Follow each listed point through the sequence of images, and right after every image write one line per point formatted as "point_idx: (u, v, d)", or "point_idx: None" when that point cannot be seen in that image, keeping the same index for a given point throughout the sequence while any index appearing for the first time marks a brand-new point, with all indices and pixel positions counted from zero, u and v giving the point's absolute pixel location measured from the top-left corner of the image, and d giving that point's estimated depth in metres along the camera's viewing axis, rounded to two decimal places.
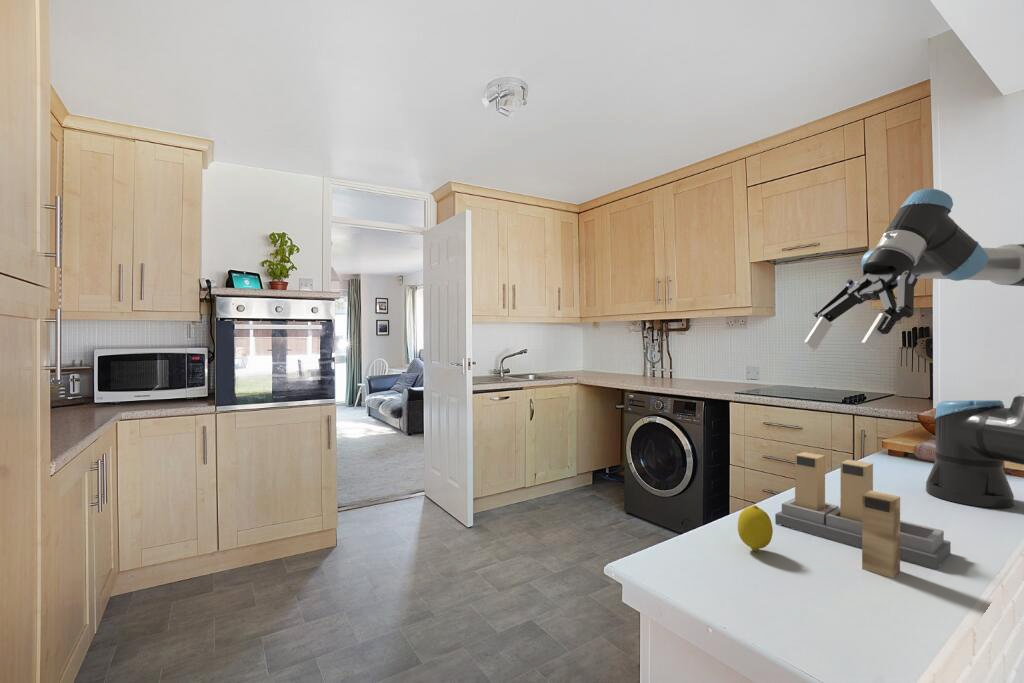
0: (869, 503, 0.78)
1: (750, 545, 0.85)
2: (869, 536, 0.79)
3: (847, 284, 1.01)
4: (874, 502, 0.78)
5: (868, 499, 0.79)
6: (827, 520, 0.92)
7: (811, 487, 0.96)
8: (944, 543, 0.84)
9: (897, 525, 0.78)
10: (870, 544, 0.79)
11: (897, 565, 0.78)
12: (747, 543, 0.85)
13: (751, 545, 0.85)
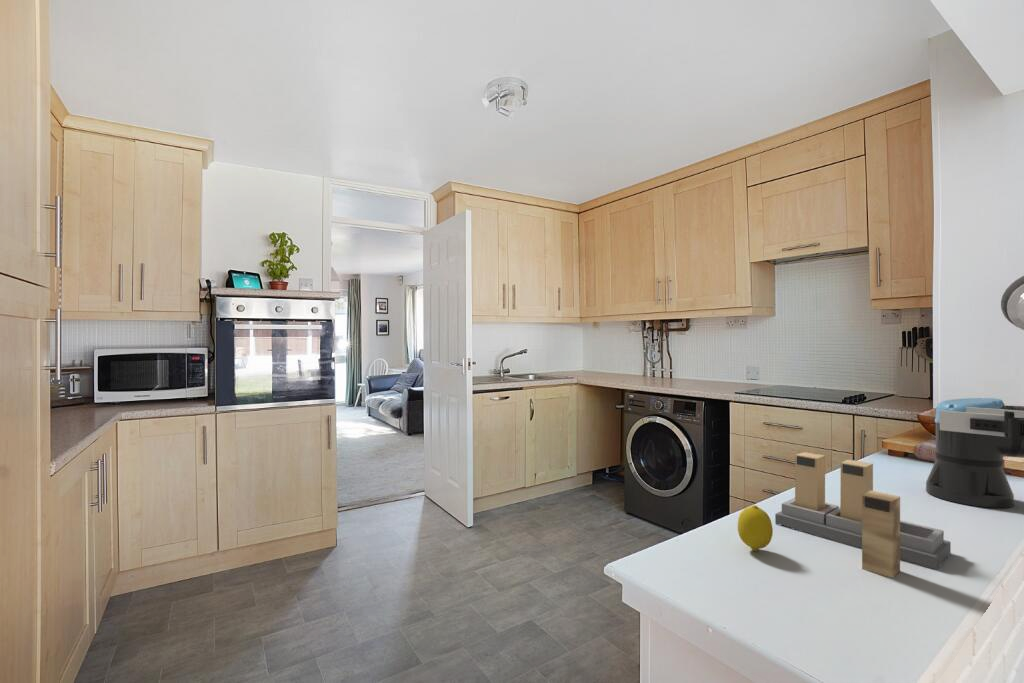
0: (869, 503, 0.78)
1: (750, 545, 0.85)
2: (869, 536, 0.79)
3: None
4: (874, 502, 0.78)
5: (868, 498, 0.79)
6: (827, 520, 0.92)
7: (811, 487, 0.96)
8: (944, 543, 0.84)
9: (897, 525, 0.78)
10: (870, 544, 0.79)
11: (897, 565, 0.78)
12: (747, 543, 0.85)
13: (751, 545, 0.85)
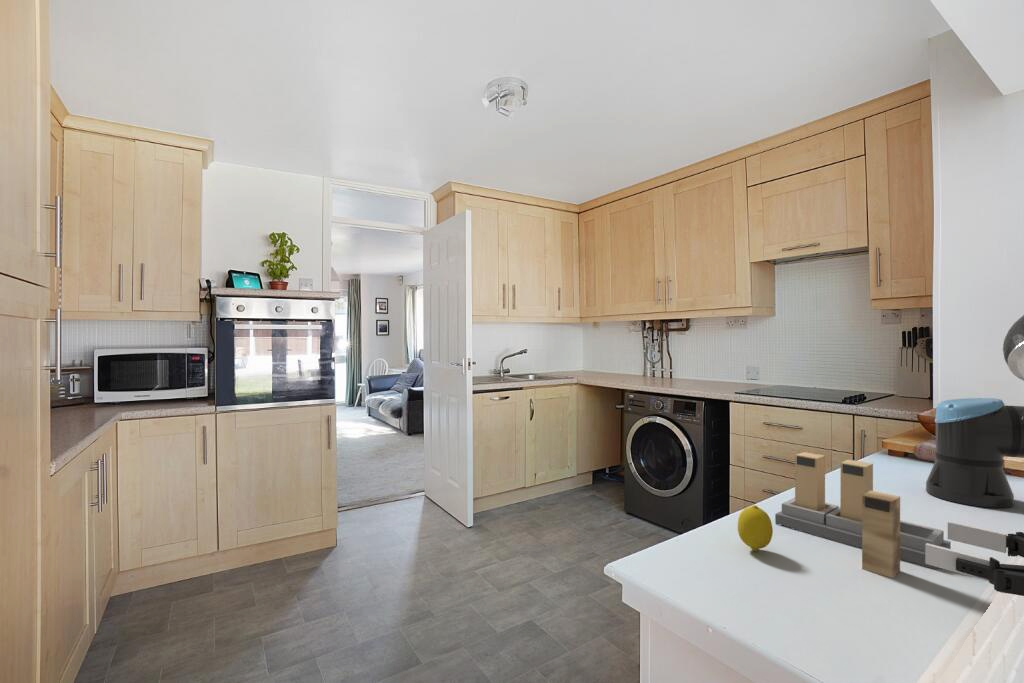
0: (869, 503, 0.78)
1: (750, 545, 0.85)
2: (869, 536, 0.79)
3: None
4: (874, 502, 0.78)
5: (868, 499, 0.79)
6: (827, 520, 0.92)
7: (811, 487, 0.96)
8: (944, 543, 0.84)
9: (897, 525, 0.78)
10: (870, 544, 0.79)
11: (897, 565, 0.78)
12: (747, 543, 0.85)
13: (751, 545, 0.85)
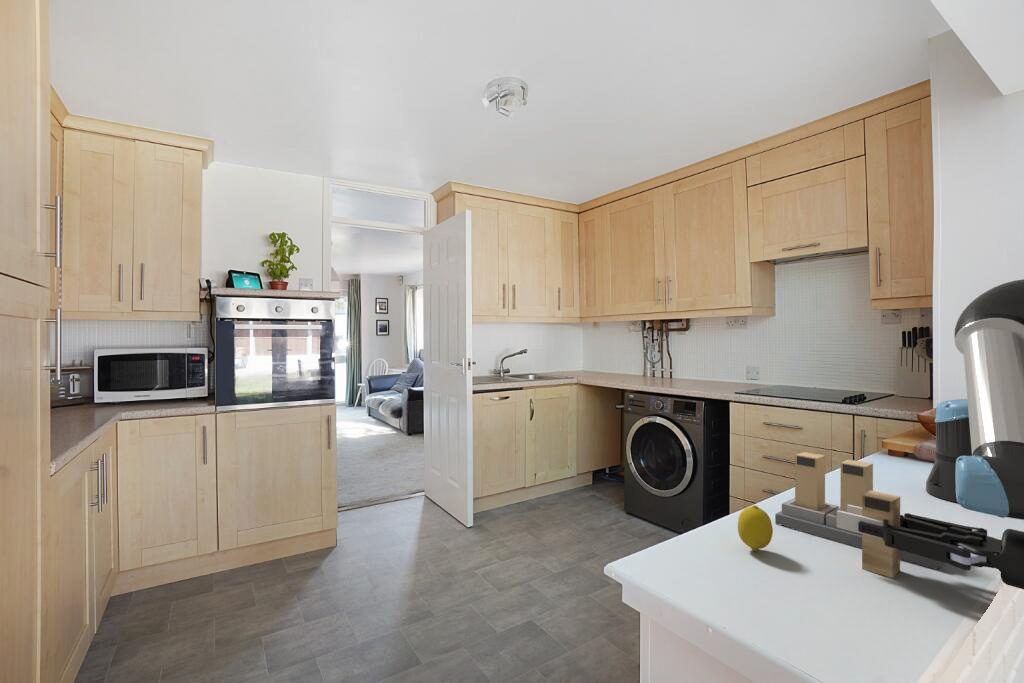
0: (869, 503, 0.78)
1: (750, 545, 0.85)
2: None
3: None
4: (874, 502, 0.78)
5: (868, 498, 0.79)
6: (827, 520, 0.92)
7: (811, 487, 0.96)
8: None
9: (897, 525, 0.78)
10: (870, 544, 0.79)
11: (897, 565, 0.78)
12: (747, 543, 0.85)
13: (751, 545, 0.85)
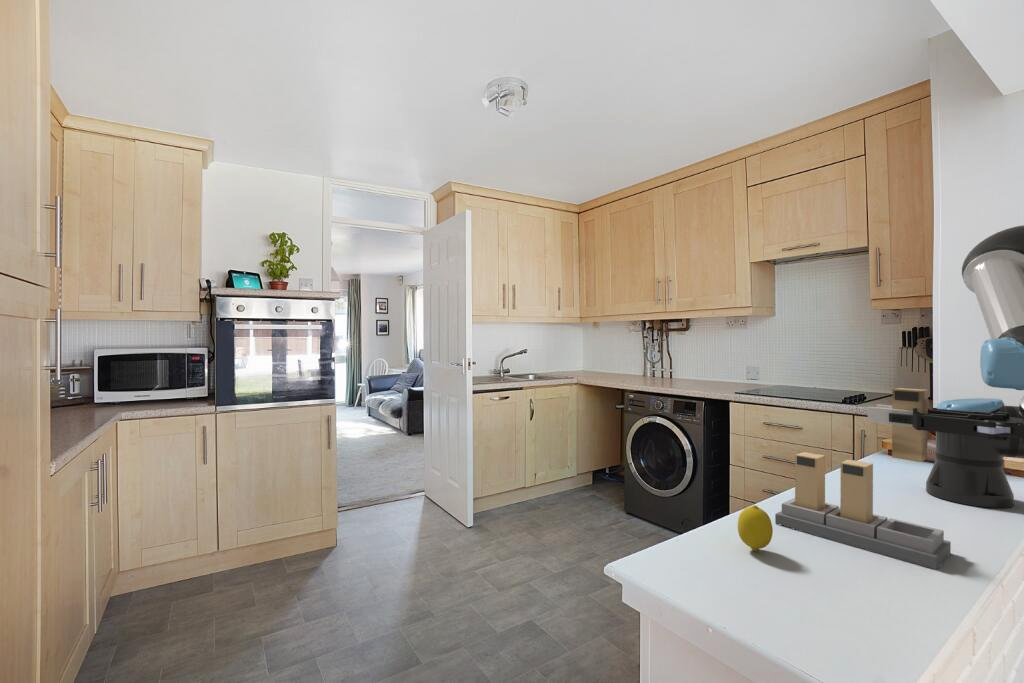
0: (899, 395, 0.85)
1: (750, 545, 0.85)
2: (898, 426, 0.85)
3: None
4: (903, 394, 0.84)
5: (898, 392, 0.85)
6: (827, 520, 0.92)
7: (811, 487, 0.96)
8: (944, 543, 0.84)
9: None
10: (899, 433, 0.85)
11: (925, 452, 0.84)
12: (747, 543, 0.85)
13: (751, 545, 0.85)
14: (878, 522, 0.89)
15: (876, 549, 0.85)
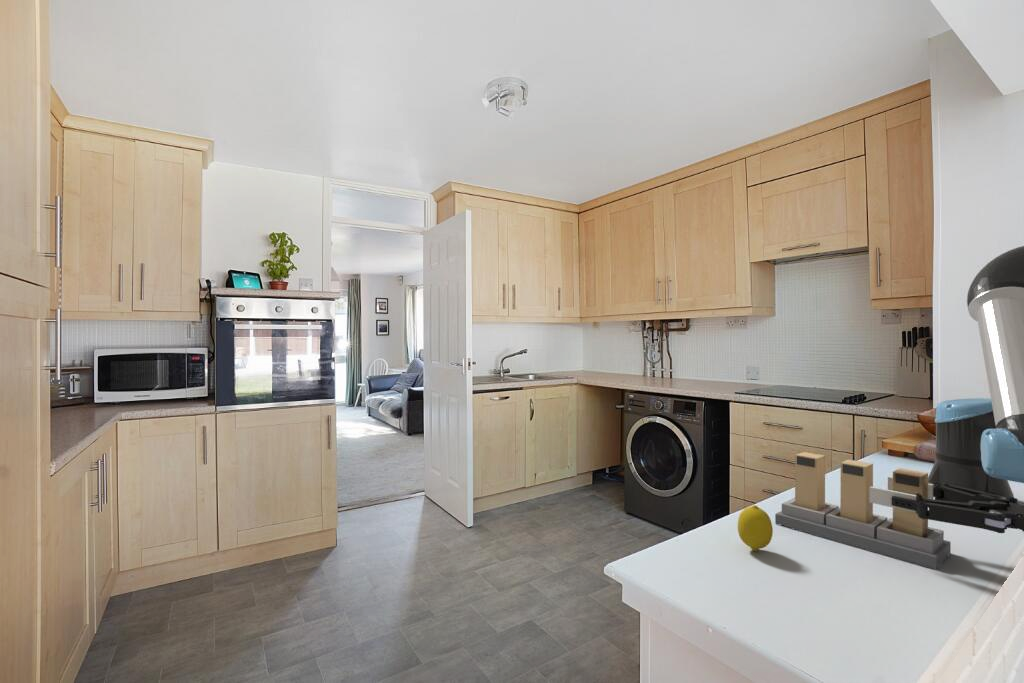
0: (900, 478, 0.85)
1: (750, 545, 0.85)
2: (899, 509, 0.85)
3: None
4: (904, 478, 0.85)
5: (898, 475, 0.85)
6: (827, 520, 0.92)
7: (811, 487, 0.96)
8: (944, 543, 0.84)
9: None
10: (900, 517, 0.85)
11: (925, 536, 0.84)
12: (747, 543, 0.85)
13: (751, 545, 0.85)
14: (878, 522, 0.89)
15: (876, 549, 0.85)
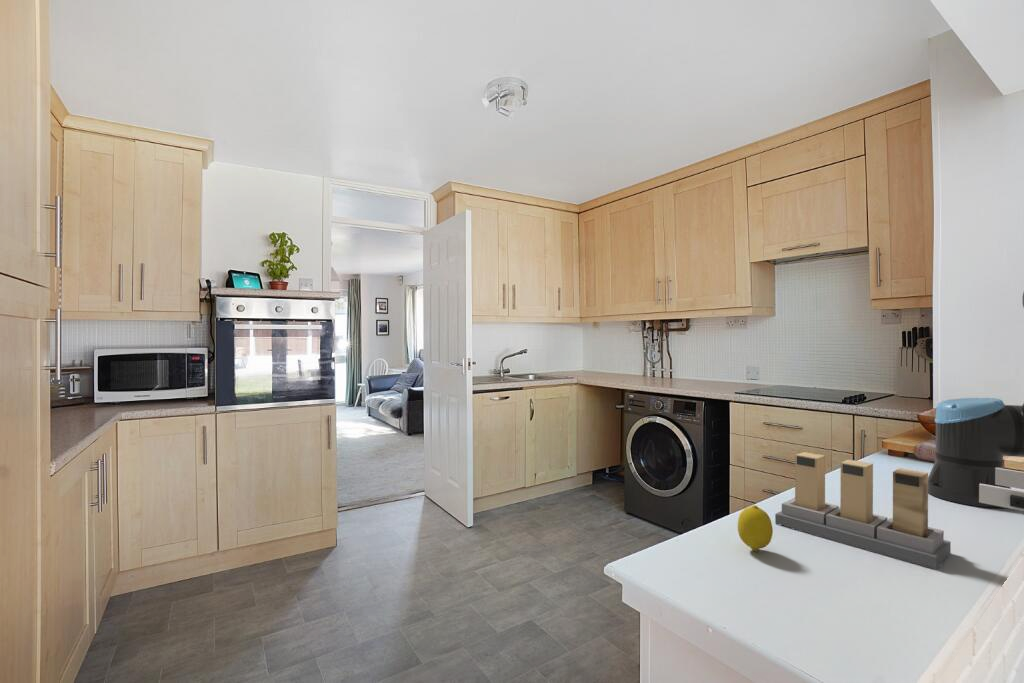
0: (900, 478, 0.85)
1: (750, 545, 0.85)
2: (899, 509, 0.85)
3: None
4: (904, 478, 0.85)
5: (898, 475, 0.85)
6: (827, 520, 0.92)
7: (811, 487, 0.96)
8: (944, 543, 0.84)
9: (925, 499, 0.84)
10: (900, 517, 0.85)
11: (925, 536, 0.84)
12: (747, 543, 0.85)
13: (751, 545, 0.85)
14: (878, 522, 0.89)
15: (876, 549, 0.85)
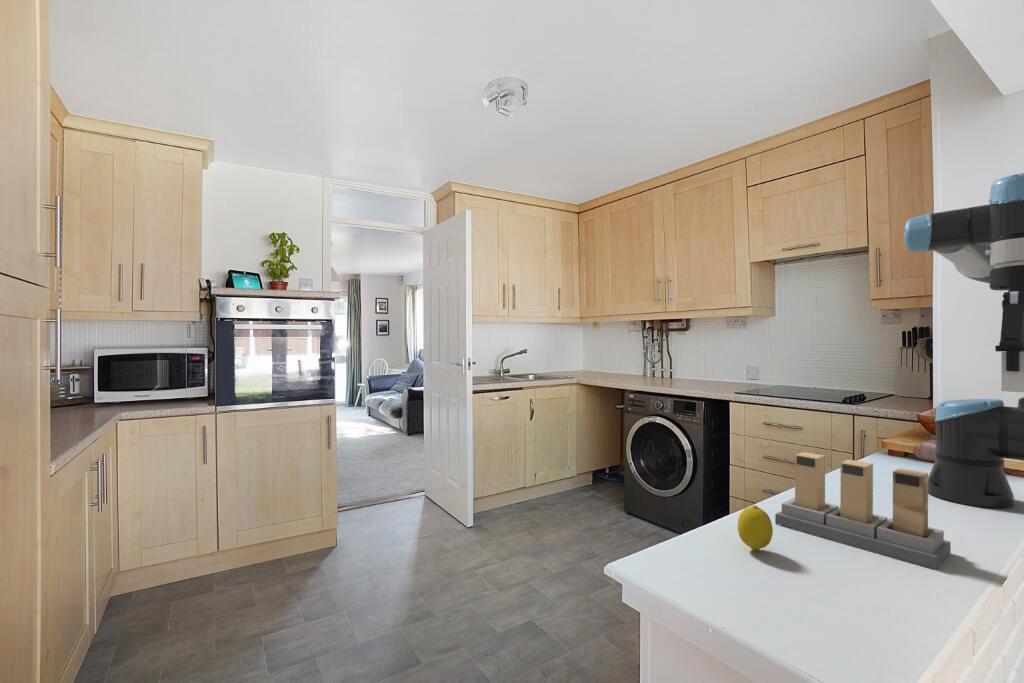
0: (900, 478, 0.85)
1: (750, 545, 0.85)
2: (899, 509, 0.85)
3: None
4: (904, 478, 0.85)
5: (898, 475, 0.85)
6: (827, 520, 0.92)
7: (811, 487, 0.96)
8: (944, 543, 0.84)
9: (925, 499, 0.84)
10: (900, 517, 0.85)
11: (925, 536, 0.84)
12: (747, 543, 0.85)
13: (751, 545, 0.85)
14: (878, 522, 0.89)
15: (876, 549, 0.85)
